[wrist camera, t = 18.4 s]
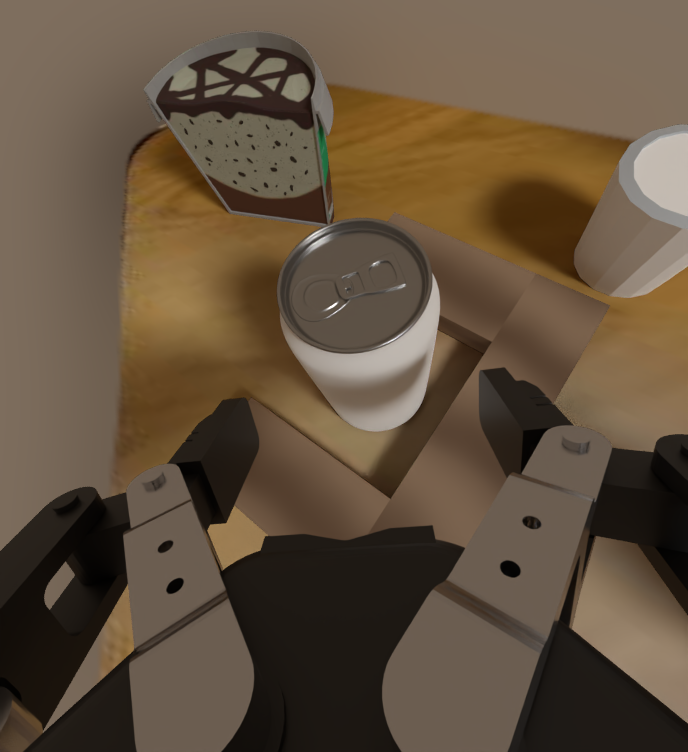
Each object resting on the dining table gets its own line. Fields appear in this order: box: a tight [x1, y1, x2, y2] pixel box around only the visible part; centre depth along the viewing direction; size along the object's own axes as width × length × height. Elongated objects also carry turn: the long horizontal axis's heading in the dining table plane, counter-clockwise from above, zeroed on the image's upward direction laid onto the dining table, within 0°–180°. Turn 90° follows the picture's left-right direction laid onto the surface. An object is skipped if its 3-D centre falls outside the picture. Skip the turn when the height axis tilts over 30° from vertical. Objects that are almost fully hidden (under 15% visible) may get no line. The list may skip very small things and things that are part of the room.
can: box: [277, 218, 440, 431], centre depth 18 cm, size 6×6×12 cm
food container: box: [144, 31, 334, 227], centre depth 26 cm, size 12×6×10 cm, turn 73°
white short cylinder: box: [574, 124, 688, 298], centre depth 21 cm, size 7×7×7 cm
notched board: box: [234, 212, 610, 548], centre depth 23 cm, size 22×15×2 cm
